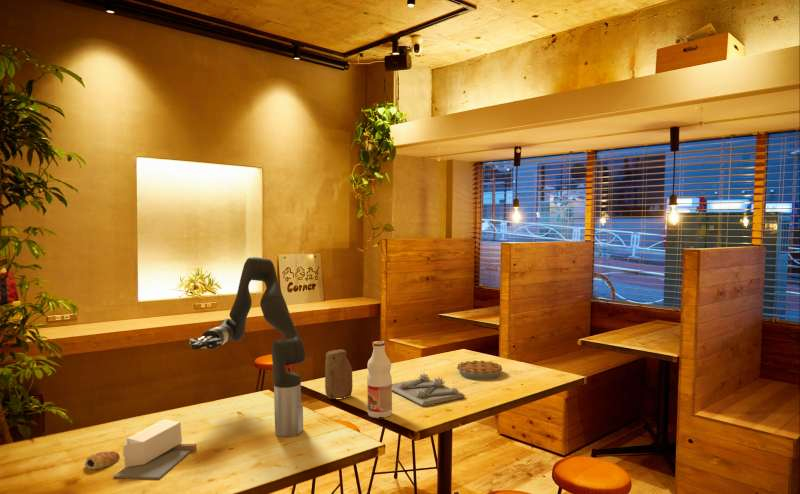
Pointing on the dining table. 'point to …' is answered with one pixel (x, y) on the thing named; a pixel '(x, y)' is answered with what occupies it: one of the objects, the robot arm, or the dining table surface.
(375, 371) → the fruit juice
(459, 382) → the dining table surface
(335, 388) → the block
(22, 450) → the dining table surface
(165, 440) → the milk carton
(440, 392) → the decorative plate
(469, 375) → the pie
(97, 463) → the pastry
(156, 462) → the grey flat board
